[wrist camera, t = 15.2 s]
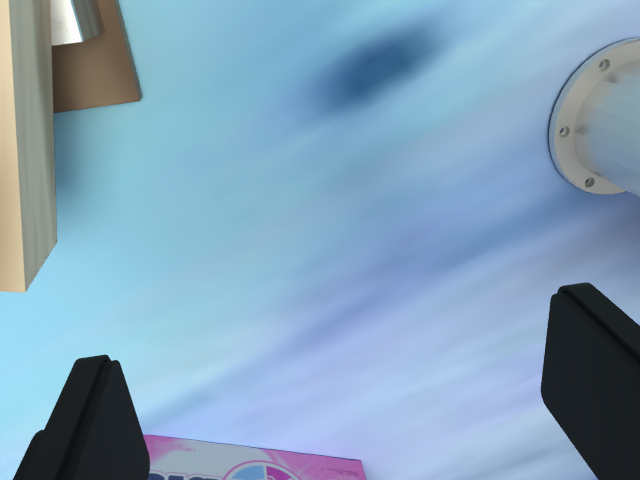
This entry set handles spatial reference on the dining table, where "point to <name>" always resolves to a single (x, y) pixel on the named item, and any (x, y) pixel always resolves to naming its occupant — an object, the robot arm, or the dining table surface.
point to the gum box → (240, 462)
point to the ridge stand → (90, 56)
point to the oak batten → (26, 142)
